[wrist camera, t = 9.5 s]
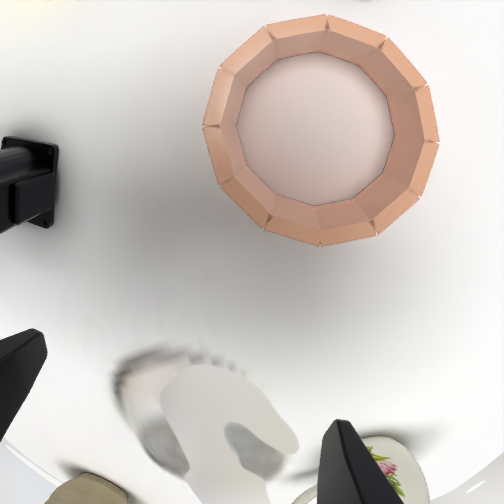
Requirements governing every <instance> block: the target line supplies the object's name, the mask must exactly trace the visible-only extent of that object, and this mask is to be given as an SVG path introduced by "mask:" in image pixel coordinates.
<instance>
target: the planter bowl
mask: <svg viewBox="0 0 504 504" xmlns="http://www.w3.org/2000/svg"><path fill="white" fill-rule="evenodd" d="M45 504H127V495H126V493H125V492H124V491H123V490H121V489H120V488H119V487H117V486H115V485H114V484H112V483H110V482H109V481H107V480H105V479H103V478H101V477H98V476H95V475H92V474H89V473H81V474H80V475H79V477H78V478H75V479H72V480H69V481H67V482H65V483H64V484H62V485H61V486H59V487H58V488H57V489H56V490H55V491H54V492H53V493H52V495H51V496H50V498H49V500H47V501H46V502H45Z"/></svg>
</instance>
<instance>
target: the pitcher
mask: <svg viewBox="0 0 504 504" xmlns="http://www.w3.org/2000/svg"><path fill="white" fill-rule="evenodd" d="M362 441H363V443H364V444H365V446H366V447H367V449H368V450H369V452H370V453H371V455H372V456H373V458H374V459H375V461H376V462H377V464H378V465H379V467H380V468H381V470H382V471H383V473H384V474H385V476H386V477H387V479H388V480H389V482H390V483H391V485H392V486H393V488H394V489H395V491H396V492H397V494H398V495H399V497H400V498H401V500H402V501H403V503H404V504H430V498H429V491H428V486H427V483H426V480H425V477H424V474H423V472H422V470H421V468H420V466H419V464H418V462H417V461H416V459H415V458H414V457H413V455H412V454H411V453H410V452H409V451H408V450H407V449H406V448H405V447H404V446H403V445H402V444H400V443H398V442H397V441H395V440H394V439H392V438H390V437H386V436H372V437H366V438H362ZM316 496H317V485H315V486H313V487H311V488H309V489H307V490H306V491H304V492H303V493H302V494H301V495H299V496H298V497H297V498H296V499H295V500H294V502H293V503H292V504H307V503H308V502H309V501H311V500H312V499H313V498H315V497H316Z"/></svg>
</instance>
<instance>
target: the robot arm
mask: <svg viewBox="0 0 504 504" xmlns="http://www.w3.org/2000/svg"><path fill="white" fill-rule="evenodd" d="M51 149H52V154H51ZM57 155H58V148H57V146H56V145H55V144H51V143H46V142H40V141H35V140H29V139H23V138H18V137H12V136H7V137H4V138H3V140H2V147H1V150H0V234H1V233H3V232H5V231H7V230H9V229H11V228H12V227H14V226H16V225H20V224H22V223H24V222H26V221H27V222H30V223H32V224H35V225H38V226H40V227H43V228H46V229H47V228H49V227H51V226H52V225H53V207H54V188H55V175H56V164H57ZM46 220H47V222H48V223H47V222H46ZM46 358H47V347H46V343H45V338H44V335H43V333H42V332H40V331H38V330H36V329H33V328H32V329H28V330H26V331H23V332H20V333H18V334H15V335H12V336H10V337H7V338H4V339H2V340H0V442H1V440H2V438H3V436H4V435H5V433H6V431H7V429H8V428H9V426H10V424H11V422H12V421H13V419H14V417H15V416H16V414H17V412H18V411H19V409H20V407H21V406H22V404H23V402H24V401H25V399H26V397H27V396H28V394H29V392H30V390H31V388H32V386H33V384H34V382H35V380H36V378H37V376H38V374H39V372H40V370H41V368H42V366H43V364H44V362H45V360H46ZM317 504H404V503H403V501H402V500H401V498H400V497H399V495H398V494H397V492H396V491H395V489H394V488H393V486H392V485H391V483H390V482H389V480H388V479H387V477H386V476H385V474H384V473H383V471H382V470H381V468H380V467H379V465H378V464H377V462H376V461H375V459H374V458H373V456H372V455H371V453H370V452H369V450H368V449H367V447H366V446H365V444H364V443H363V441H362V439H361V438H360V436H359V435H358V433H357V432H356V430H355V429H354V427H353V426H352V424H351V423H350V422H349V421H347V420H340V419H336V420H334V421H333V423H332V424H331V426H330V427H329V428H328V430H327V431H326V433H325V434H324V436H323V440H322V449H321V458H320V466H319V474H318V482H317Z"/></svg>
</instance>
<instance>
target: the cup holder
mask: <svg viewBox="0 0 504 504" xmlns="http://www.w3.org/2000/svg"><path fill="white" fill-rule="evenodd" d="M266 27H267V29H266V28H265V27H262V28H261V29H260V30H259V31H257V32H256V33H255V34H254V35H253V36H252V37H250V38H249V39H248V40H247V41H246V42H245V43H244V44H243V45H241V46H240V47H239V48H238V49H237V50H236V51H235V52H234V53H233V54H232V55H231V56H229V57H228V58H227V59H226V60H225V61H224V62H223V63H222V64H221V65H220V67H221V68H222V69H223V70H222V69H218V70H217V73H216V77H215V80H214V84H213V87H212V91H211V94H210V98H209V102H208V105H207V109H206V113H205V117H204V120H203V124H202V125H204V126H207V127H204V128H202V129H203V132H204V136H205V139H206V143H207V147H208V150H209V154H210V157H211V161H212V164H213V168H214V171H215V175H216V178H217V182H218V184H222V183H223V184H222V185H221V186H220V188H221V189H222V190H223V191H224V192H225V193H226V194H227V195H228V196H229V197H230V198H231V199H232V200H233V201H234V202H235V203H236V204H237V205H238V206H239V207H240V208H241V209H242V210H243V211H244V212H245V213H246V214H247V215H248V216H249V217H250V218H251V219H252V220H253V221H254V222H255V223H256V224H257V225H258V226H259V227H260V228H262V227H263V226H265V227H264V230H266V231H269V232H272V233H276V234H279V235H282V236H286V237H289V238H292V239H295V240H299V241H302V242H305V243H309V244H312V245H315V246H318V247H319V244H320V243H321V247H323V246H328V245H333V244H338V243H343V242H348V241H353V240H358V239H363V238H367V237H372V236H376V232H377V233H378V235H379V234H380V233H381V232H382V231H383V230H384V229H386V228H387V227H388V226H389V225H390V224H392V223H393V222H394V221H395V220H396V219H397V218H399V217H400V216H401V215H402V214H403V213H404V212H405V211H407V210H408V209H409V208H410V207H411V206H412V205H413V204H415V203H416V202H417V201H418V200H419V197H418V196H417V195H419V196H422V194H423V191H424V188H425V185H426V183H427V180H428V177H429V174H430V171H431V168H432V165H433V162H434V159H435V156H436V153H437V150H438V147H439V144H437V143H435V142H439V135H438V129H437V124H436V118H435V113H434V108H433V103H432V99H431V94H430V90H429V86H424V85H425V84H427V82H426V81H425V79H424V78H423V77H422V76H421V74H420V73H419V72H418V71H417V69H416V68H415V67H414V66H413V65H412V63H411V62H410V61H409V60H408V59H407V58H406V56H405V55H404V54H403V53H402V52H401V51H400V50H399V48H398V47H397V46H396V45H395V44H394V43H393V42H392V41H391V40H390V39H389V38H387V39H386V40H385V37H386V36H385V35H383V34H381V33H378V32H376V31H373V30H371V29H368V28H366V27H363V26H360V25H358V24H355V23H352V22H349V21H346V20H343V19H340V18H337V17H334V16H331V15H328V18H327V17H326V14H325V15H318V16H311V17H305V18H299V19H293V20H288V21H283V22H278V23H273V24H269V25H266ZM318 51H319V52H322V53H325V54H328V55H331V56H334V57H337V58H340V59H343V60H346V61H348V62H351V63H354V64H357V65H359V66H360V67H361V68H362V69H363V71H364V72H365V73H366V74H367V75H368V76H369V77H370V78H371V79H372V80H373V82H374V83H375V84H376V85H377V86H378V87H379V88H380V90H381V91H382V92H383V93H384V94H385V95H386V97H387V101H388V106H389V110H390V115H391V119H392V124H393V129H394V134H395V137H394V140H393V143H392V146H391V149H390V152H389V155H388V158H387V161H386V164H385V167H384V170H383V173H382V174H381V175H380V176H378V177H377V178H376V179H375V180H374V181H373V182H371V183H370V184H369V185H368V186H367V187H366V188H365V189H363V190H362V191H361V192H360V193H359V194H358V195H356V196H355V197H354V198H353V199H348V200H343V201H337V202H332V203H327V204H322V205H318V206H312V205H309V204H306V203H303V202H299V201H296V200H293V199H290V198H287V197H283V196H280V195H277V194H275V193H274V192H273V191H272V190H271V189H270V188H269V187H268V186H267V185H266V184H265V183H264V182H263V181H262V180H261V179H260V178H259V177H258V176H257V175H256V174H255V173H254V172H253V171H252V170H251V169H250V168H249V167H248V166H247V164H246V160H245V157H244V153H243V149H242V146H241V142H240V138H239V135H238V131H237V127H236V124H237V120H238V117H239V113H240V110H241V106H242V103H243V99H244V96H245V92H246V89H247V86H248V85H249V84H251V83H252V82H253V81H254V80H255V79H256V78H257V77H258V76H259V75H260V74H261V73H263V72H264V71H265V70H266V69H267V68H268V67H269V66H270V65H271V64H273V63H274V62H275V61H276V60H277V59H281V58H286V57H291V56H296V55H301V54H306V53H312V52H318ZM375 231H376V232H375Z"/></svg>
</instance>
